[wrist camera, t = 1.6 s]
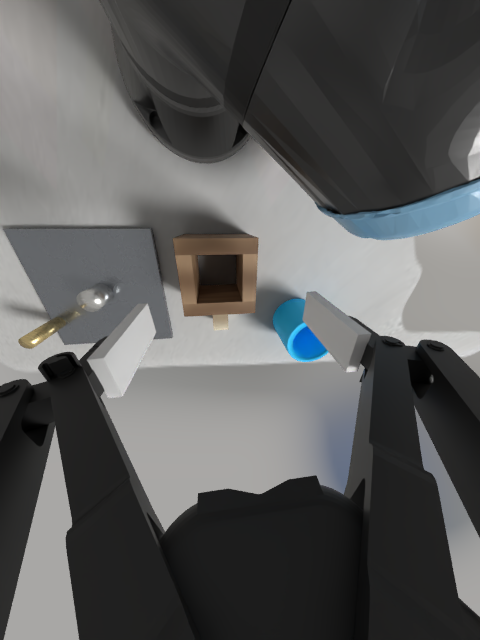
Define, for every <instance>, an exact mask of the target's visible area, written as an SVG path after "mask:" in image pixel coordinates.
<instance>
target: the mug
mask: <svg viewBox="0 0 480 640" xmlns="http://www.w3.org/2000/svg"><path fill="white" fill-rule="evenodd" d="M305 301H306V300H303V299H291V300H288V301H286V302H284V303H283V304H281V305H280V306H279V307H278V308H277V310H276V311H275V314H274V316H273V325H274V328H275V330H276V332H277V333H278V335H279V337H280V339H281V340H282V342H283V344H284V346H285V347H286V349H287V351H288V353H289V354H290V355H291V357H292V358H294V359H296V360H297V361H302V362H310V361H314V360H317V359H320V358H321V357H323V356H325V355H326V354H327V353H328V350H327V349H326V348H325V347H324V346H323V344H322V343H321V342H320V341H319V340H318V338H317V337H316V336H315V335H314V333H313V332H312V331H311V330H310V329H309V327H308V326H307V325H306V324H305V323H304V321H303V314H304V307H305Z"/></svg>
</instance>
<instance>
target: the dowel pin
mask: <svg viewBox="0 0 480 640" xmlns="http://www.w3.org/2000/svg"><path fill="white" fill-rule="evenodd" d="M65 325H66V322H65V320H64V319H62V318H60V317H55V318H53V319H52V320H50V321H48V322H47V323H45V324H43V325H42V326H40V327H38V328H37V329H35V330H33V331H32V332H30V333H28V334H27V335H25V336H23V337H22V338H20V339H19V344H20V345H21V346H23V347H24V348H28V349H31V348H34V347H35V346H37V345H38V344H40V343H41V342H42V341H44V340H45V339H47V338H48V337H50V336H51V335H52V334H54V333H55V332H57V331H58V330H60V329H61V328H63V327H64V326H65Z"/></svg>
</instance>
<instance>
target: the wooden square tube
mask: <svg viewBox="0 0 480 640" xmlns="http://www.w3.org/2000/svg"><path fill="white" fill-rule="evenodd" d="M173 244H174V251H175V257H176V264H177V270H178V277H179V284H180V290H181V297H182V303H183V310H184V316H205V315H213V326H214V330H227V329H228V314H244V313H255V303H256V280H257V258H258V238H257V237H254V236H252V235H249V234H183V235H180V236H178V237H175V238H173ZM228 254H236V284H223V285H200V274H199V264H198V255H228Z"/></svg>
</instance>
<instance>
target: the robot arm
mask: <svg viewBox="0 0 480 640" xmlns="http://www.w3.org/2000/svg"><path fill="white" fill-rule="evenodd" d="M99 1H100V3H101V5H102V7H103V9H104V11H105V13H106V15H107V17H108V18H109V20H110V22H111V28H112V34H113V40H114V46H115V52H116V56H117V61H118V64H119V68H120V71H121V74H122V77H123V80H124V83H125V85H126V88H127V90H128V92H129V95H130V97H131V99H132V101H133V103H134V105H135V107H136V108H137V110H138V112H139V113H140V115H141V117H142V118H143V120H144V121H145V123H146V124H147V125H148V127H149V128H150V130H151V131H152V132H153V134H154V135H155V136H156V137H157V138H158V139H159V140H160V141H161V142H162V143H163V144H164V145H165V146H166V147H167V148H168V149H170V150H171V151H172V152H174V153H175V154H177V155H179V156H180V157H182V158H184V159H187V160H189V161H193V162H197V163H215V162H219V161H222V160H225V159H227V158H229V157H230V156H232V155H234V154H235V153H236V152H237V151H239V150H240V149H241V148H242V147H243V145H244V144H245V143H246V142H247V141H248V139H249V138H250V136H252V137H253V138H254V139H255V140H256V141H257V142H258V143H259V144H260V145H261V146H262V147H263V148H264V150H265V151H266V152H267V153H268V154H269V155H270V156H271V157H272V158H273V159H274V160H275V161H276V162H277V163H278V164H279V165H280V166H281V167H282V168H283V169H284V170H285V171H286V172H287V173H288V174H289V175H290V176H291V177H292V178H293V179H294V180H295V181H296V182H297V183H298V184H299V185H300V187H301V188H302V189H303V190H304V191H305V192H306V193H307V194H308V195H309V196H310V197H311V198H312V199H313V200H314V202H315V204H316V205H317V207H318V209H319V210H320V211H321V212H322V213H324V214H326V215H328V216H330V217H333V218H334V219H335V220H336V221H337V222H338V223H339V224H340V225H341V226H343V227H344V228H345V229H346V230H347V231H348V232H350V233H352V234H353V235H356V236H358V237H361V238H373V239H377V240H392V239H402V238H408V237H413V236H418V235H422V234H426V233H429V232H433V231H436V230H439V229H442V228H445V227H448V226H450V225H454V224H457V223H459V222H461V221H464V220H467V219H469V218H472V217H474V216H476V215H478V214H480V0H99ZM303 321H304V323H305V324H306V325H307V326H308V327H309V329H310V330H311V331H312V332H313V333H314V335H315V336H316V337H317V338H318V340H319V341H320V342H321V343H322V344H323V346H324V347H325V348H326V349H327V350H328V352H329V353H330V354H331V355H332V356H333V358H334V359H335V360H336V361H337V362H338V364H339V365H340V366H341V367H342V368H343V370H344V371H345V372H354V371H358V369H359V366H360V363H361V364H362V365H363V366H364V367H365V369H364V371H363V374H362V377H361V379H360V382H362V384H361V391H360V398H359V405H358V412H357V420H356V426H355V433H354V441H353V448H352V455H351V462H350V469H349V476H348V481H347V485H346V488H345V492H344V495H343V494H341V493H340V492H338V491H336V490H334V489H332V488H329V487H326V486H323V485H320V484H319V481H318V479H317V476H310V477H303V478H296V479H289V480H287V481H285V482H283V483H281V484H279V485H278V486H276V487H274V488H272V489H270V490H268V491H266V492H265V493H263V494H254V493H248V492H243V491H237V490H232V489H224V490H217V491H210V492H204V493H198V503H197V504H195V505H194V506H192V507H190V508H189V509H187V510H186V511H185V512H184V513H183V514H181V515H180V516H179V517H178V518H177V519H176V520H175V521H174V522H173V523H172V524H171V526H170V527H169V528H168V529H167V531H166V532H165V531H164V529H163V527H162V525H161V523H160V521H159V519H158V518H157V516H156V514H155V512H154V510H153V508H152V506H151V504H150V502H149V499H148V497H147V495H146V493H145V491H144V489H143V487H142V484H141V482H140V480H139V478H138V476H137V474H136V472H135V469H134V467H133V465H132V463H131V461H130V459H129V457H128V455H127V453H126V450H125V448H124V446H123V444H122V442H121V440H120V438H119V435H118V433H117V431H116V429H115V427H114V425H113V423H112V420H111V418H110V416H109V414H108V412H107V410H106V407H105V405H104V403H103V401H102V399H101V398H100V396H101V395H102V393H103V392H104V391H105V393H106V395H107V396H108V398H113V397H121V396H123V395H124V393H125V391H126V389H127V387H128V385H129V383H130V382H131V379H132V378H133V376H134V374H135V372H136V370H137V368H138V366H139V364H140V363H141V361H142V359H143V357H144V355H145V353H146V351H147V349H148V347H149V345H150V343H151V342H152V340H153V338H154V336H155V334H156V330H155V326H154V323H153V319H152V316H151V313H150V309H149V306H148V303H144V304H137V305H136V306H135V307H134V309H133V310H132V311H131V312H130V313H129V314H128V315H127V316H126V317H125V318H124V320H123V321H122V322H121V323H120V324H119V325H118V326H117V327H116V328H115V329H114V330H113V332H112V333H111V334H110V335H109V336H105V337H104V338H102V339H101V340H99V341H97V343H96V344H95V345H94V346H93V348H91V349H90V350H89V352H87V353H86V354H85V355H84V356H83V357H82V358H81V359H80V360H78V359H77V357H76V355H75V354H74V353H73V352H64V353H60V354H56V355H54V356H52V357H49V358H48V359H46V360H44V361H43V362H42V363H41V364H40V365H39V367H38V369H39V371H40V372H41V373H42V375H43V376H44V377H45V379H46V380H47V381H46V382H43V383H39V384H36V385H31V384H30V383H29V382H28V381H27V380H26V379H20V380H15V381H12V382H9V383H6V384H3V385H2V386H0V640H3V639H4V635H5V631H6V627H7V623H8V619H9V614H10V610H11V606H12V602H13V598H14V594H15V590H16V586H17V581H18V577H19V573H20V569H21V565H22V561H23V557H24V552H25V548H26V544H27V540H28V536H29V532H30V528H31V523H32V519H33V515H34V511H35V507H36V503H37V498H38V494H39V490H40V486H41V482H42V478H43V474H44V470H45V466H46V462H47V457H48V453H49V449H50V445H51V441H52V437H53V433H54V428H55V426H56V431H57V437H58V443H59V448H60V454H61V460H62V465H63V471H64V476H65V482H66V488H67V494H68V499H69V504H70V510H71V516H72V528H70V529H69V530H68V531H67V535H66V549H67V556H68V563H69V570H70V577H71V584H72V591H73V598H74V605H75V612H76V619H77V626H78V633H79V640H480V617H479V616H478V615H477V614H476V613H475V612H474V611H472V610H471V609H470V608H469V607H468V606H467V605H466V604H465V603H464V602H463V601H461V599H459V598H458V593H457V589H456V583H455V578H454V572H453V568H452V561H451V556H450V551H449V545H448V540H447V535H446V529H445V524H444V518H443V513H442V508H441V502H440V497H439V492H438V486H437V483H436V480H435V478H434V476H433V475H432V474H431V473H429V472H427V471H425V470H424V468H423V464H422V457H421V451H420V443H419V436H418V429H417V422H416V416H415V409H414V406H415V408H416V410H417V412H418V414H419V416H420V418H421V420H422V421H423V424H424V426H425V428H426V430H427V432H428V434H429V436H430V438H431V440H432V442H433V444H434V446H435V448H436V450H437V452H438V454H439V456H440V458H441V460H442V462H443V464H444V466H445V468H446V470H447V472H448V474H449V476H450V478H451V481H452V483H453V484H454V487H455V488H456V491H457V493H458V494H459V497H460V499H461V500H462V502H463V505H464V507H465V509H466V511H467V513H468V515H469V517H470V519H471V521H472V523H473V525H474V527H475V529H476V531H477V533H478V535H479V537H480V378H479V376H478V375H477V374H476V373H475V372H474V371H473V370H472V369H471V368H470V367H469V366H468V365H467V364H466V363H465V362H464V361H463V360H462V359H461V358H460V357H459V356H458V355H457V354H456V353H455V352H454V351H453V350H452V349H451V348H450V347H448V346H447V345H445V344H443V343H441V342H438V341H433V340H421V341H420V342H419V344H418V346H417V347H414V346H405V344H404V343H403V342H401V341H400V340H398V339H396V338H393V337H389V336H379V335H378V334H377V333H375V332H374V331H373V330H371V329H370V328H368V327H366V325H364V324H362V322H360V321H359V320H357V319H356V318H353V317H351V316H347V315H346V314H345V313H343V312H342V311H341V310H339V309H338V308H337V307H335V306H334V305H333V304H331V303H330V302H329V301H327V300H326V299H325V298H324V297H322V296H321V295H320V294H318V293H317V292H316V291H314V292H307V294H306V301H305V307H304V314H303Z"/></svg>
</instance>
